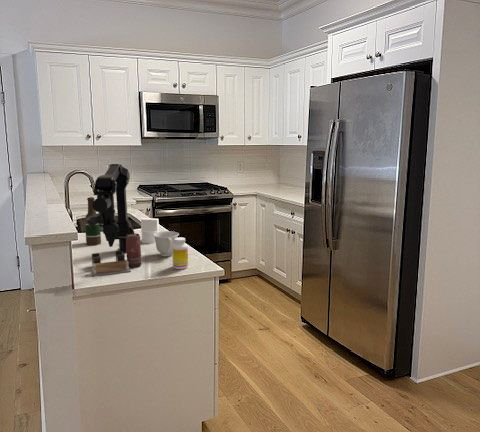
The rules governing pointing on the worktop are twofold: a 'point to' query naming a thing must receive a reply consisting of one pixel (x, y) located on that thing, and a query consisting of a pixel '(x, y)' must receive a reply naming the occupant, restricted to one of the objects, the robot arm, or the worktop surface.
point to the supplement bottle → (180, 253)
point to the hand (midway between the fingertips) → (109, 243)
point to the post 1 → (96, 258)
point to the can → (133, 250)
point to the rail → (110, 266)
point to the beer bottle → (92, 232)
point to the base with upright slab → (149, 229)
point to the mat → (110, 272)
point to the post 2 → (119, 256)
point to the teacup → (165, 242)
